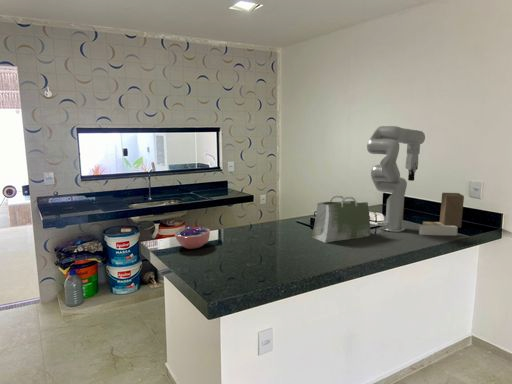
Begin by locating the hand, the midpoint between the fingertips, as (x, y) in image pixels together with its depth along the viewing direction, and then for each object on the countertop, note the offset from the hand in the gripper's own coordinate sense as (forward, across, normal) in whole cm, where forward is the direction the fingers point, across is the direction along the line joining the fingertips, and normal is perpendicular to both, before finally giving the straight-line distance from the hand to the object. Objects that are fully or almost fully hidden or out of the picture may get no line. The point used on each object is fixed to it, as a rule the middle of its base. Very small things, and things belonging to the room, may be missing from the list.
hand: (411, 180), depth 242 cm
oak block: (+27, +23, +7) cm, 37 cm away
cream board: (+27, +30, +7) cm, 41 cm away
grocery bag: (+27, +37, -49) cm, 67 cm away
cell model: (+27, +62, -127) cm, 144 cm away
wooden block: (+27, +8, +23) cm, 37 cm away
